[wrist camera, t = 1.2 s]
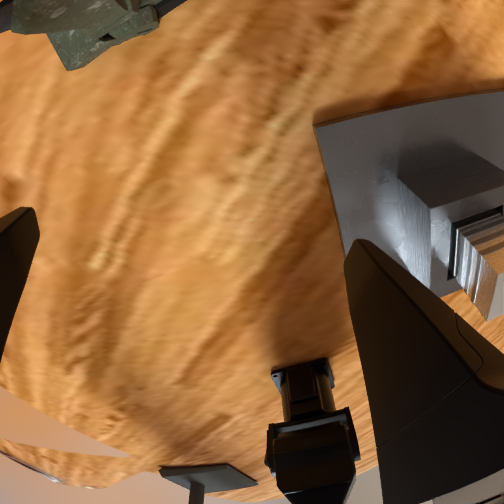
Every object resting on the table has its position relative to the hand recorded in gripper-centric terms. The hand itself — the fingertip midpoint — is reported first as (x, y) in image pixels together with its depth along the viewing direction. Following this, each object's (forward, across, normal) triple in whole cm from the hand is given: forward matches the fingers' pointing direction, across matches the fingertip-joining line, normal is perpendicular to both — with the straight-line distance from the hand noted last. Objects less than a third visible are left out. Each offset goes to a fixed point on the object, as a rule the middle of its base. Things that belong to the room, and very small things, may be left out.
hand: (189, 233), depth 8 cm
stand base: (+13, -19, +4) cm, 23 cm away
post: (+11, -19, +4) cm, 22 cm away
